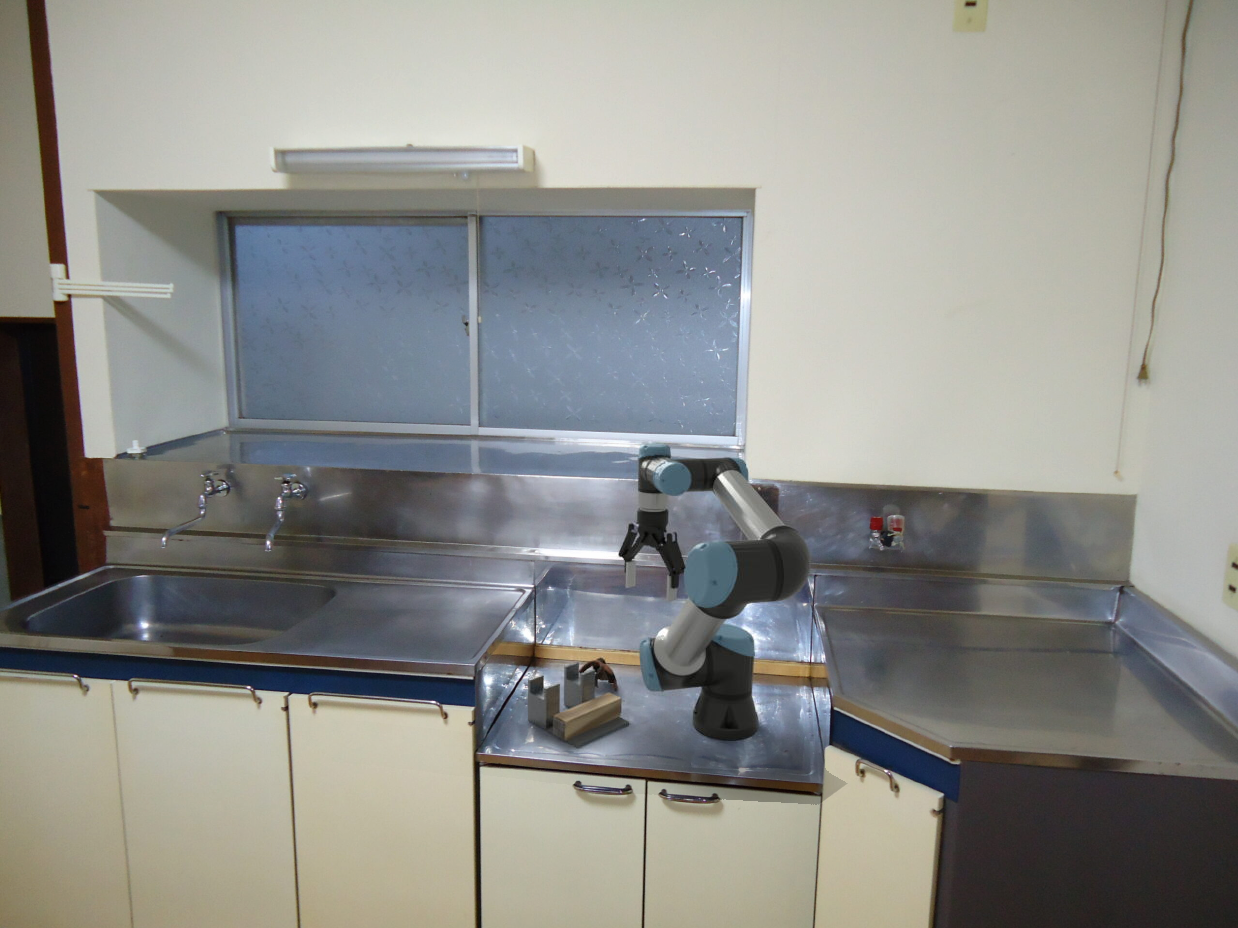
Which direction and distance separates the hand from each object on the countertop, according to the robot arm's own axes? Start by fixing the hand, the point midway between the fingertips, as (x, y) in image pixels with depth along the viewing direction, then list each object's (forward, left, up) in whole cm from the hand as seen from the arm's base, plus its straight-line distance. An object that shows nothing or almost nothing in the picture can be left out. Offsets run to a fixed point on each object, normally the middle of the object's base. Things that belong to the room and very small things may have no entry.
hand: (650, 593), depth 197 cm
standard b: (+7, +27, -27) cm, 39 cm away
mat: (-2, +21, -27) cm, 34 cm away
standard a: (+7, +16, -27) cm, 32 cm away
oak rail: (-2, +21, -26) cm, 34 cm away
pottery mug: (+12, +5, -27) cm, 30 cm away
